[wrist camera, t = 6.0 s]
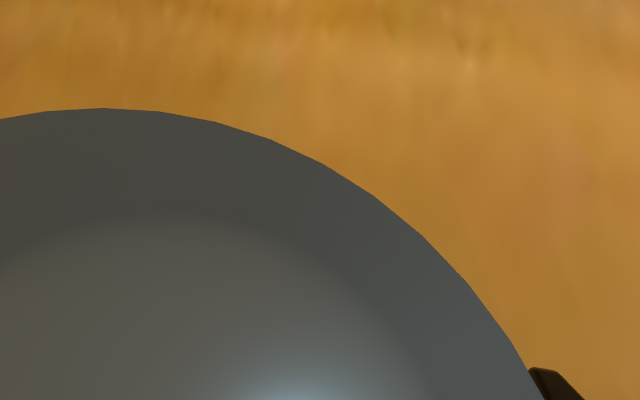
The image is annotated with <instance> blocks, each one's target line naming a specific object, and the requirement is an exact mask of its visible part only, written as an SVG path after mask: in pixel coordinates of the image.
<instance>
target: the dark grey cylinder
mask: <svg viewBox="0 0 640 400" xmlns="http://www.w3.org/2000/svg"><path fill="white" fill-rule="evenodd" d="M0 400H544V398H543V396H542V395H541V393H540V391H539V389H538V388H537V386H536V384H535V382H534V381H533V379H532V377H531V376H530V374H529V372H528V370H527V369H526V367H525V365H524V363H523V362H522V360H521V358H520V357H519V355H518V353H517V351H516V350H515V348H514V346H513V344H512V343H511V341H510V340H509V338H508V337H507V336H506V334H505V333H504V332H503V330H502V329H501V327H500V326H499V325H498V323H497V322H496V321H495V319H494V318H493V317H492V315H491V314H490V313H489V311H488V310H487V309H486V307H485V306H484V305H483V303H482V302H481V301H480V299H479V298H478V297H477V295H476V294H475V293H474V291H473V290H472V289H471V287H470V286H469V285H468V283H467V282H466V281H465V280H464V279H463V278H462V277H461V276H460V275H459V274H458V273H457V272H456V271H455V270H454V269H453V268H452V267H451V265H450V264H449V263H448V262H447V261H446V260H445V259H444V258H443V257H442V256H441V255H440V254H439V253H438V252H437V251H436V250H435V249H434V248H433V247H432V246H431V244H430V243H429V242H428V241H427V240H426V239H425V238H424V237H423V236H422V235H421V234H419V233H418V232H417V231H416V230H415V229H413V228H412V227H411V226H410V225H408V224H407V223H406V222H405V221H404V220H402V219H401V218H400V217H399V216H398V215H396V214H395V213H394V212H393V211H391V210H390V209H389V208H388V207H387V206H385V205H384V204H383V203H382V202H380V201H379V200H378V199H377V198H376V197H374V196H373V195H371V194H370V193H368V192H367V191H365V190H363V189H362V188H360V187H359V186H357V185H356V184H354V183H352V182H351V181H349V180H348V179H346V178H344V177H343V176H341V175H340V174H338V173H336V172H335V171H333V170H332V169H330V168H328V167H327V166H325V165H324V164H322V163H320V162H318V161H315V160H313V159H311V158H309V157H307V156H305V155H303V154H300V153H298V152H296V151H294V150H292V149H290V148H288V147H285V146H283V145H281V144H279V143H277V142H275V141H272V140H270V139H267V138H264V137H261V136H258V135H255V134H252V133H249V132H245V131H242V130H239V129H236V128H233V127H230V126H227V125H223V124H220V123H217V122H213V121H208V120H202V119H197V118H191V117H186V116H181V115H175V114H170V113H164V112H158V111H141V110H125V109H109V108H97V109H79V110H62V111H45V112H39V113H34V114H28V115H22V116H16V117H10V118H5V119H0Z"/></svg>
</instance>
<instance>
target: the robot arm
mask: <svg viewBox="0 0 640 400" xmlns="http://www.w3.org/2000/svg"><path fill="white" fill-rule="evenodd" d="M528 372H529V374H530V376H531V377H532V379H533V381H534V382H535V384H536V386H537V388H538V389H539V391H540V393H541V395H542V396H543V398H544V400H585V399H584V398H583V397H582V396H581V395H580V394H579V393H578V392H577V391H576V390H575V389H574V388H573V387H572V386H571V385H570V384H569V383H568V382H567V381H566V380H565V379H564V378H563V377H562V376H561V375H560V374H559V373H558V372H556V371H554V370H549V369H543V368H537V367H533V368H530V369H529V370H528Z"/></svg>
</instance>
